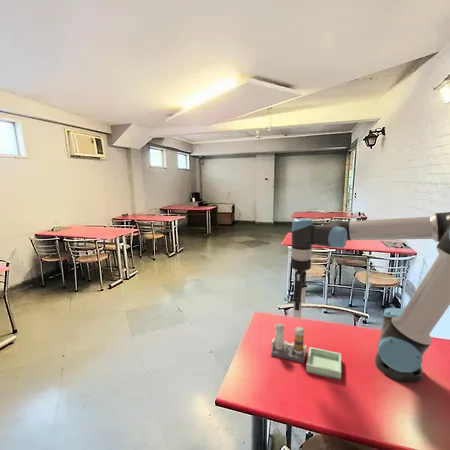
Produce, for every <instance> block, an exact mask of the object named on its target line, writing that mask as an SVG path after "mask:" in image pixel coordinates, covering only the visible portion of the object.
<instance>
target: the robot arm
mask: <svg viewBox="0 0 450 450" xmlns="http://www.w3.org/2000/svg"><path fill="white" fill-rule="evenodd" d="M291 226H292V227H291V248H290V249H289V251H290V252H291V254H290V255H291V259H290V268H291V269H293V270H296V271H295V273H294V286H293V295H292V296H293V297H292V298H291V302H293V311H292V312H293V318H299V319H301V318H302V304H306V288H308V284H307V271H309V270H310V269H311V268H312V260H311V259H312V250H313V248H312V247H313V246H318V247H327V248H333V249H344V248H345V247H346V245H347V242H348V241H376V240H377V241H384V240H385V241H386V240H387V241H388V240H389V241H391V240H392V241H393V240H433V241H434V242H437V245H436V246H435V247H436V248H435V249H436V250H437V253H438V255H437V257H436V258H435V260H434V262H433V263H432V265H431V267H430V268H429V270H428V271H427V272H426V274H425V276H424V278H423V279H422V281H421V283H420V284H419V286H418V287H417V288H416V289H415V292H414V294H413V295H412V296H411V298H410V300H409V302H408V303H407V305H406V306H405V308H397V307H387V308H385V309H384V311H383V314H382V316H383V320H382V327H381V331H380V332H381V333H380V335H379V340H378V343H377V352H376V354H375V356H374V364H375V367H376V368H377V369H378V370H379V371H380V372H381V373H382V374H384V375H385V376H387V377H389V378H391V379H393V380H395V381H397V382H398V381H399V382H403V383H418V382H420V381H421V380H422V378H423V367H422V363H423V355H425V352H426V351H427V350H428V349H429V347H430V345H432V342H433V339H432V337H431V335H430V334H431V333H432V331H433V330H434V328H435V327H436V325H438V322H439V321H440V320H441V318H442V317H443V315H444V314H445V313H446V311H447V310H448V308H449V307H450V211H447V212H436V213H433V214H432V215H431V216H421V217H419V216H417V217H415V216H414V217H405V218H404V217H401V218H400V217H399V218H384V219H382V218H381V219H367V220H366V219H365V220H363V219H362V220H350V221H343V220H336V221H332V222H331V223H330V224H327V225H316V224H313V220H312V219H310V218H295V219H293V220H292V225H291Z"/></svg>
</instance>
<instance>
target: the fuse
mask: <svg viewBox="0 0 450 450" xmlns="http://www.w3.org/2000/svg"><path fill="white" fill-rule="evenodd" d="M274 335H275V336H274V338H275V349H276V350H279V351H281V350H283V349H284V342H285V341H284V340H285V324H282V323H275V324H274Z"/></svg>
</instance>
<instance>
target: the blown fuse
mask: <svg viewBox="0 0 450 450" xmlns="http://www.w3.org/2000/svg"><path fill="white" fill-rule="evenodd" d="M293 331H294V332H293V333H294V337H293V342H294V353H295V354H297V355H302V354H303V351H304V349H303V346H304V345H305V344H304V343H305V342H304V341H305V340H304V337H305V336H304V335H305V329H304V328H303V327H299V326H296V327H295V328H293Z"/></svg>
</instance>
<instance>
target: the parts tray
mask: <svg viewBox="0 0 450 450" xmlns="http://www.w3.org/2000/svg"><path fill="white" fill-rule="evenodd" d="M305 369H306V370H305V372H306V373H309V374H313V375H317V376H321V377H325V378H329V379H334V380H337V381H342V353H341V352H336V351H331V350H327V349H322V348H321V349H320V348H317V347H312V346H309V348H308V353H307V360H306V366H305Z"/></svg>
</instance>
